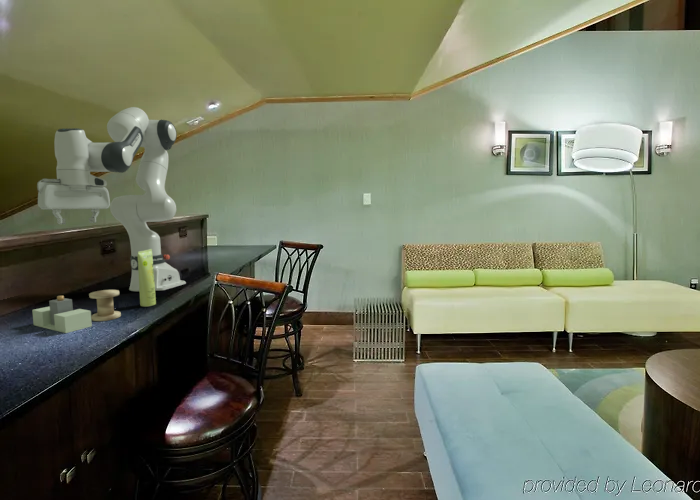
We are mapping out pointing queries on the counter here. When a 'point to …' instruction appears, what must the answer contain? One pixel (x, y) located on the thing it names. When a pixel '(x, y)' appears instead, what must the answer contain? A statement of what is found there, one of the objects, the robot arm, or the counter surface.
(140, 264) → the tube
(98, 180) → the robot arm
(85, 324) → the notch board
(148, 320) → the counter surface
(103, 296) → the bobbin
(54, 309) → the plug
